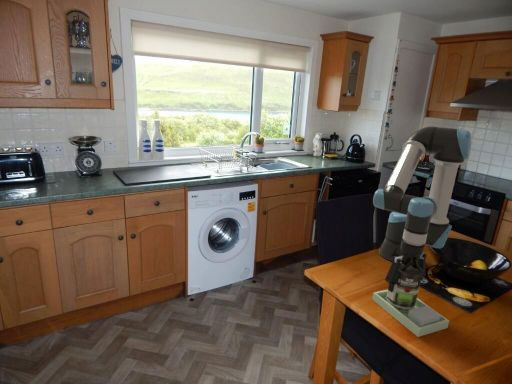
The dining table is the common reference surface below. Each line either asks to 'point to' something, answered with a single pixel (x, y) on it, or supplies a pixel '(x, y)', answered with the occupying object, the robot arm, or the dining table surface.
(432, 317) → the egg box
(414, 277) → the coffee can
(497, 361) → the dining table surface
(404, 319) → the tray
